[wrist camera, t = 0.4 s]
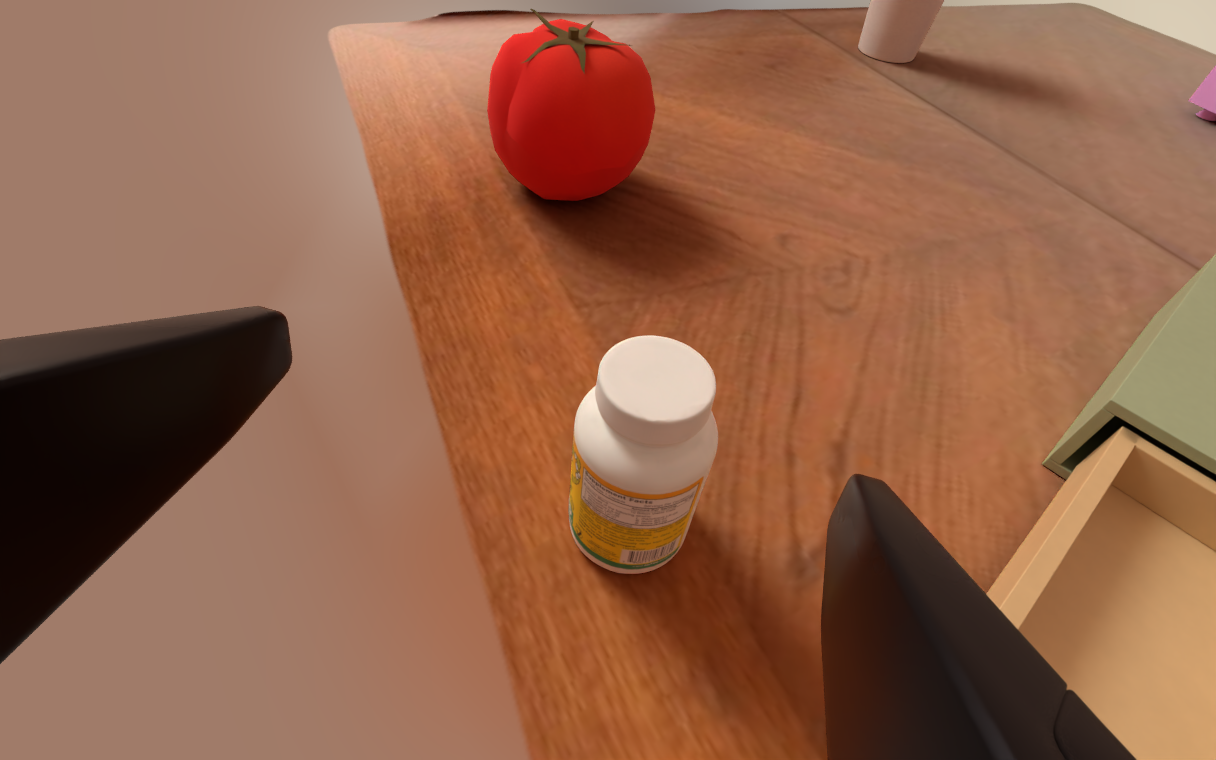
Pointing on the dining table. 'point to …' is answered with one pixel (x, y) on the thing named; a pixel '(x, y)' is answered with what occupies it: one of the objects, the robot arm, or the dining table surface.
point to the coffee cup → (897, 28)
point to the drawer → (1127, 596)
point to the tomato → (569, 110)
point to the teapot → (1206, 97)
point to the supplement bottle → (641, 453)
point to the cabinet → (1159, 386)
